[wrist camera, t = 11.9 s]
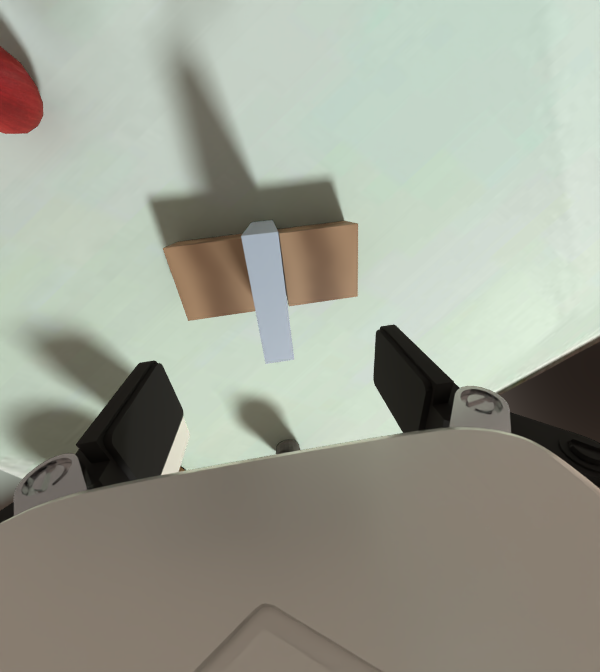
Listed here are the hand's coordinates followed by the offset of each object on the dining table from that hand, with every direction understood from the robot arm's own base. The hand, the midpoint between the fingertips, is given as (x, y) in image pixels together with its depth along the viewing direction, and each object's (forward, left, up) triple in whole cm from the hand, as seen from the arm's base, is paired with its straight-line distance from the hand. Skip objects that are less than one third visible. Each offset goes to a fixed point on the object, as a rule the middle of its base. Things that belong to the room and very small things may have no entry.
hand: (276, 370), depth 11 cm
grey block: (0, 0, -22) cm, 22 cm away
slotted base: (0, 0, -23) cm, 23 cm away
